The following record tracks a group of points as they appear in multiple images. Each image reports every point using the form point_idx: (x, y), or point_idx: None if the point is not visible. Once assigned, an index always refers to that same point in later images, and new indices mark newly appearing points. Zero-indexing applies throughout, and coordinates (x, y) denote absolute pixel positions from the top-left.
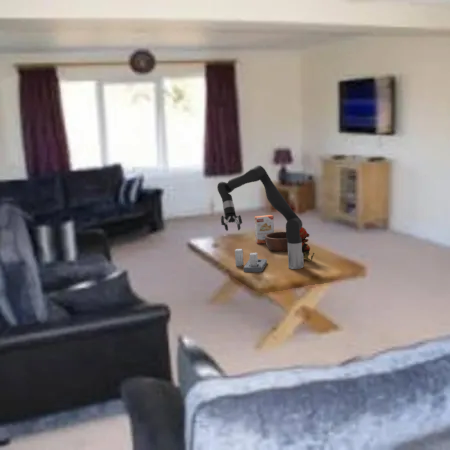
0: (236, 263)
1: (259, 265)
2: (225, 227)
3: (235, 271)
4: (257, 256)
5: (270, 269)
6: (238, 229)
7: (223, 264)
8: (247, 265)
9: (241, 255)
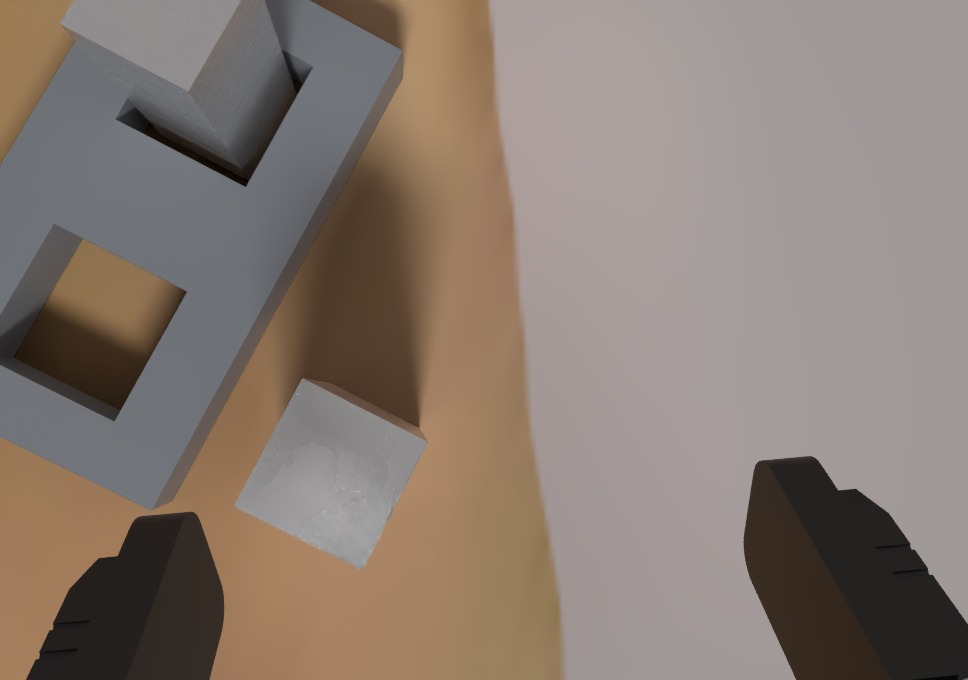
0: (407, 423)
1: None
2: (916, 584)
3: (501, 155)
4: (91, 55)
5: (5, 17)
6: (207, 578)
7: (558, 608)
8: (312, 129)
9: (316, 381)
